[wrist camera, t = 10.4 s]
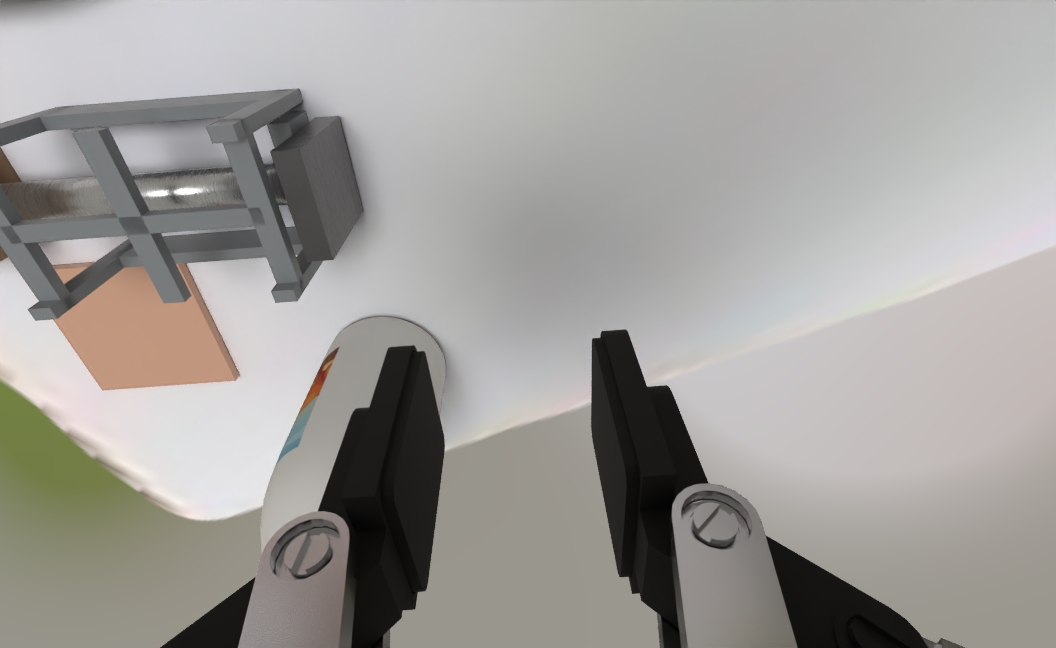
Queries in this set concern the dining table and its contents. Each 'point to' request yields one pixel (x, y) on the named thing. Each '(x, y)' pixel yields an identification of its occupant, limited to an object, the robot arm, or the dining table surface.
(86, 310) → the coaster
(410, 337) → the milk bottle
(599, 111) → the dining table surface
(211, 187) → the plunger
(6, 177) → the cube
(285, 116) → the cage
